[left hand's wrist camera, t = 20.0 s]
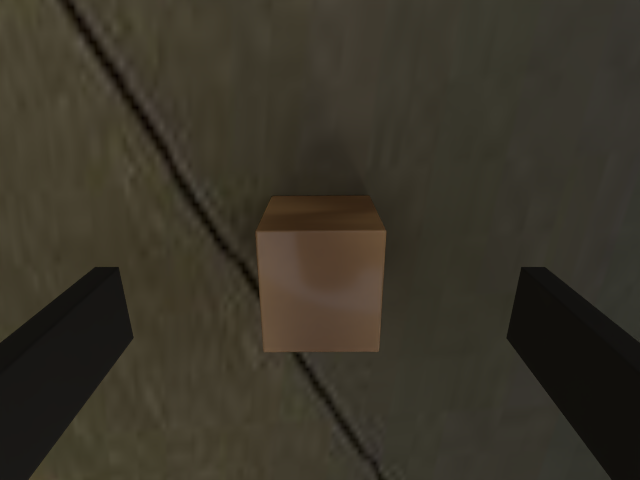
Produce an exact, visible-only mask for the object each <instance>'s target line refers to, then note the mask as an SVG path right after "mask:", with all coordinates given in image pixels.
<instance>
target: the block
mask: <svg viewBox="0 0 640 480" xmlns="http://www.w3.org/2000/svg"><path fill="white" fill-rule="evenodd" d="M255 236H256V251H257V266H258V280H259V295H260V309H261V324H262V338H263V350H264V352H378V351H379V346H380V329H381V313H382V296H383V279H384V263H385V246H386V230H385V227H384V225H383V223H382V221H381V219H380V217H379V215H378V213H377V211H376V208H375V206H374V204H373V202H372V200H371V198H370V196H272V197H271V199H270V201H269V203H268V205H267V208H266V210H265V212H264V214H263V216H262V218H261V221H260V223H259V225H258V227H257V229H256V231H255Z"/></svg>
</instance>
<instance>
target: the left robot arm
mask: <svg viewBox="0 0 640 480" xmlns="http://www.w3.org/2000/svg"><path fill="white" fill-rule="evenodd" d="M132 339H133V333H132V328H131V324H130V319H129V314H128V309H127V305H126V300H125V295H124V291H123V286H122V281H121V276H120V272H119V267H95V268H93V269H92V270H91V271H90V272H88V273H87V274H86V275H85V276H83V277H82V278H81V279H80V280H78V281H77V282H76V283H75V284H73V285H72V286H71V287H70V288H68V289H67V290H66V291H65V292H63V293H62V294H61V295H60V296H58V297H57V298H56V299H55V300H53V301H52V302H51V303H50V304H48V305H47V306H46V307H45V308H43V309H42V310H41V311H40V312H38V313H37V314H36V315H35V316H33V317H32V318H31V319H30V320H28V321H27V322H26V323H25V324H23V325H22V326H21V327H20V328H18V329H17V330H16V331H15V332H13V333H12V334H11V335H10V336H8V337H7V338H6V339H5V340H3V341H2V342H1V343H0V480H28V479H29V478H30V477H31V475H32V474H33V473H34V471H35V470H36V469H37V467H38V466H39V464H40V463H41V462H42V460H43V459H44V458H45V456H46V455H47V454H48V452H49V451H50V450H51V448H52V447H53V446H54V444H55V443H56V442H57V440H58V439H59V438H60V436H61V435H62V434H63V432H64V431H65V430H66V428H67V427H68V425H69V424H70V423H71V421H72V420H73V419H74V417H75V416H76V415H77V413H78V412H79V411H80V409H81V408H82V407H83V405H84V404H85V403H86V401H87V400H88V399H89V397H90V396H91V395H92V393H93V392H94V391H95V389H96V388H97V386H98V385H99V384H100V382H101V381H102V380H103V378H104V377H105V376H106V374H107V373H108V372H109V370H110V369H111V368H112V366H113V365H114V364H115V362H116V361H117V360H118V358H119V357H120V356H121V354H122V353H123V352H124V350H125V349H126V347H127V346H128V345H129V343H130V342H131V341H132ZM507 339H508V341H509V342H510V343H511V345H512V346H513V347H514V349H515V350H516V352H517V353H518V354H519V356H520V357H521V358H522V360H523V361H524V362H525V364H526V365H527V366H528V368H529V369H530V370H531V372H532V373H533V374H534V376H535V377H536V378H537V380H538V381H539V382H540V384H541V385H542V386H543V388H544V389H545V391H546V392H547V393H548V395H549V396H550V397H551V399H552V400H553V401H554V403H555V404H556V405H557V407H558V408H559V409H560V411H561V412H562V413H563V415H564V416H565V417H566V419H567V420H568V421H569V423H570V424H571V425H572V427H573V428H574V430H575V431H576V432H577V434H578V435H579V436H580V438H581V439H582V440H583V442H584V443H585V444H586V446H587V447H588V448H589V450H590V451H591V452H592V454H593V455H594V456H595V458H596V459H597V460H598V462H599V463H600V464H601V466H602V467H603V469H604V470H605V471H606V473H607V474H608V475H609V477H610V478H611V479H612V480H640V343H639V342H638V341H637V340H635V339H634V338H633V337H632V336H630V335H629V334H628V333H627V332H625V331H624V330H623V329H622V328H620V327H619V326H618V325H617V324H615V323H614V322H613V321H612V320H610V319H609V318H608V317H607V316H605V315H604V314H603V313H602V312H600V311H599V310H598V309H597V308H595V307H594V306H593V305H592V304H590V303H589V302H588V301H587V300H585V299H584V298H583V297H582V296H580V295H579V294H578V293H577V292H575V291H574V290H573V289H572V288H570V287H569V286H568V285H567V284H565V283H564V282H563V281H562V280H560V279H559V278H558V277H557V276H555V275H554V274H553V273H552V272H550V271H549V270H548V269H547V268H545V267H521V272H520V276H519V281H518V286H517V291H516V295H515V300H514V305H513V309H512V314H511V319H510V324H509V328H508V333H507Z"/></svg>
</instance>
